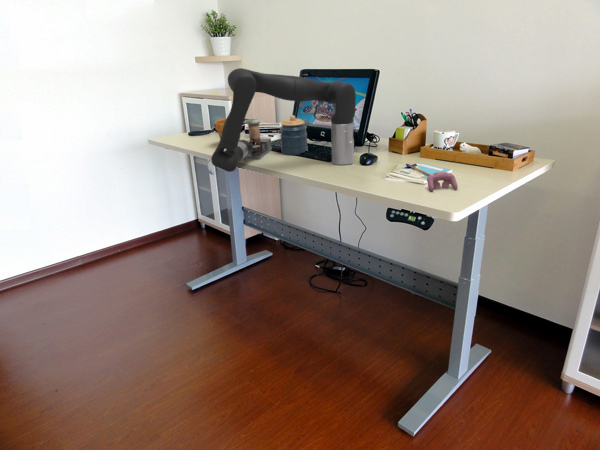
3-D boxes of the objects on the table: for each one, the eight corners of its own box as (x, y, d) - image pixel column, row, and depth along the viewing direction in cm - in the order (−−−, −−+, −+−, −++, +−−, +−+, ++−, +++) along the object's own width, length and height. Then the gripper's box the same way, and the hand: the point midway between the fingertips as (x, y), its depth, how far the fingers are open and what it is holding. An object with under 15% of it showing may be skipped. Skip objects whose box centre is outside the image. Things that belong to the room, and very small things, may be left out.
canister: (313, 151, 201) (312, 114, 194) (295, 157, 193) (292, 118, 186) (294, 147, 210) (292, 112, 202) (275, 153, 201) (273, 116, 194)
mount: (271, 149, 208) (270, 138, 206) (260, 159, 192) (258, 147, 190) (253, 149, 210) (252, 138, 208) (240, 159, 195) (238, 147, 192)
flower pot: (247, 142, 226) (244, 118, 220) (241, 148, 213) (238, 123, 208) (222, 143, 227) (218, 119, 222) (214, 149, 215) (211, 124, 209)
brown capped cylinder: (263, 149, 202) (261, 118, 196) (259, 152, 197) (257, 121, 191) (252, 148, 204) (249, 118, 198) (248, 152, 199) (244, 121, 193)
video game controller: (453, 191, 146) (452, 171, 146) (459, 189, 141) (457, 169, 142) (426, 193, 146) (424, 173, 146) (430, 191, 141) (429, 171, 141)
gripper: (253, 142, 178) (265, 133, 193) (224, 141, 181) (239, 133, 196) (254, 159, 181) (267, 149, 196) (227, 158, 184) (241, 148, 199)
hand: (253, 141), depth 196 cm, fingers closed
